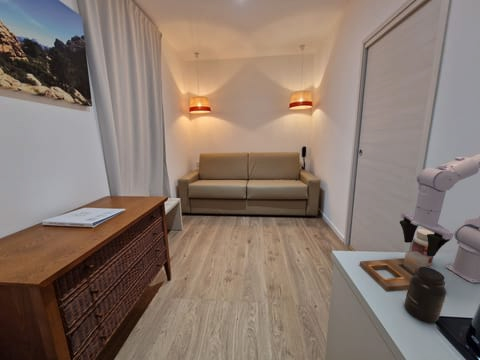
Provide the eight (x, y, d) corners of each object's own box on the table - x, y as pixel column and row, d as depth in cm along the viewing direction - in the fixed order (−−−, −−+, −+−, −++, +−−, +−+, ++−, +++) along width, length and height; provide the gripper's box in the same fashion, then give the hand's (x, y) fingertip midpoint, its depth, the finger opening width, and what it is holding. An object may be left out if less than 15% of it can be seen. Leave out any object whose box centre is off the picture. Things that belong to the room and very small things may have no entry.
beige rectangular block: (412, 269, 71) (416, 251, 69) (423, 277, 67) (428, 258, 65) (401, 270, 70) (406, 251, 69) (412, 278, 67) (417, 259, 65)
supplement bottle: (399, 309, 55) (408, 270, 52) (409, 298, 59) (418, 260, 56) (433, 329, 50) (446, 286, 47) (441, 315, 54) (453, 274, 51)
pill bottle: (423, 267, 72) (430, 237, 69) (405, 257, 78) (411, 229, 75) (435, 264, 74) (443, 235, 71) (416, 254, 79) (423, 227, 77)
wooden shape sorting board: (408, 261, 75) (409, 257, 75) (444, 286, 63) (445, 281, 63) (359, 265, 73) (360, 260, 72) (386, 291, 61) (387, 286, 61)
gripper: (396, 200, 70) (388, 237, 73) (441, 218, 56) (430, 263, 59) (415, 199, 71) (407, 236, 74) (464, 217, 57) (452, 261, 60)
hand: (418, 248), depth 67 cm, fingers open, 7 cm apart
